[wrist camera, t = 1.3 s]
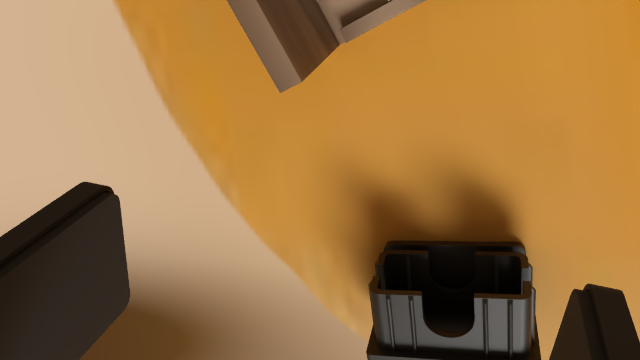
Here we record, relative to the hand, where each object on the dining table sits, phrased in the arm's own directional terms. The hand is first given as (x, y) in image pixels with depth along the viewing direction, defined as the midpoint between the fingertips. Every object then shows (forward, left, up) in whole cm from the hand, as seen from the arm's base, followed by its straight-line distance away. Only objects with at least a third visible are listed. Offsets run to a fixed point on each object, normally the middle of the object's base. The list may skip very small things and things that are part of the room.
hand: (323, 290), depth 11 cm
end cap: (+5, +16, -24) cm, 29 cm away
